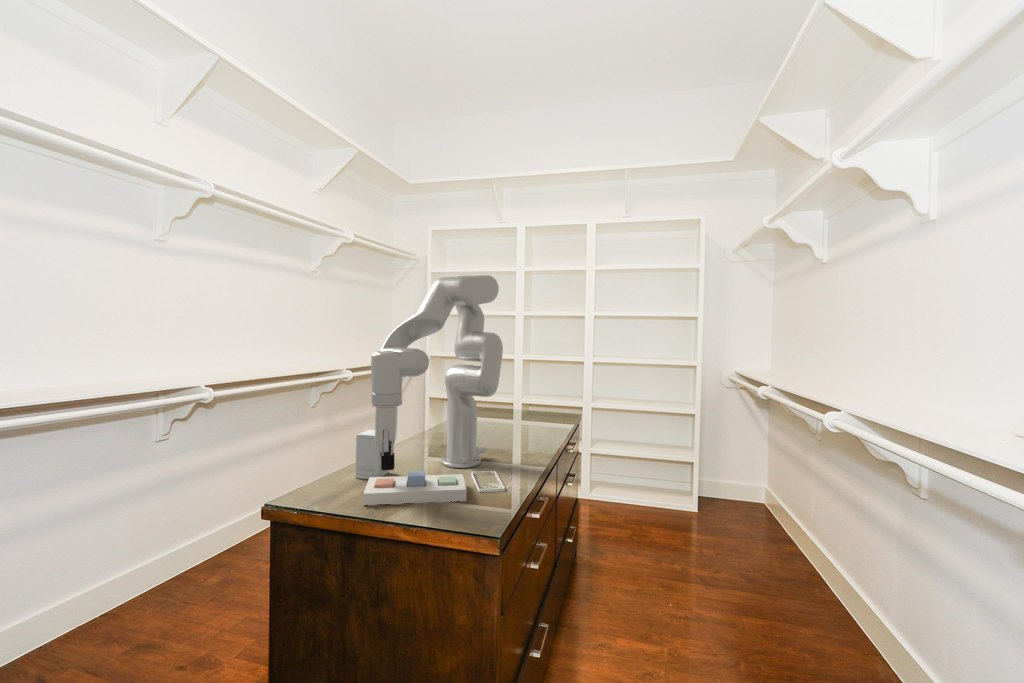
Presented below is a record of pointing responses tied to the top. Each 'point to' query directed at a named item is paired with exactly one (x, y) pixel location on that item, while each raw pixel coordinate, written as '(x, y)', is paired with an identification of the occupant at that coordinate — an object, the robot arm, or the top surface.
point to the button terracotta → (384, 483)
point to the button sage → (447, 480)
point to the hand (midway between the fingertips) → (387, 468)
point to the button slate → (416, 478)
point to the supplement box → (368, 456)
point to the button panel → (415, 491)
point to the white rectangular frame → (488, 489)
